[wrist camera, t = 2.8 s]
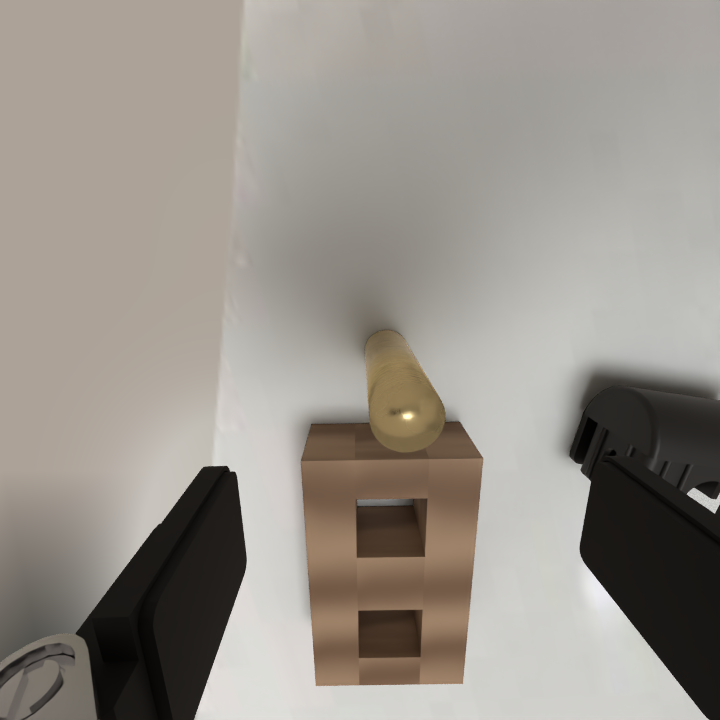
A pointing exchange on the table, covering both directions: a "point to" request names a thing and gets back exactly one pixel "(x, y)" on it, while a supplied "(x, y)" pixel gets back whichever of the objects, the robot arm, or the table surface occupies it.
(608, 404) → the end cap
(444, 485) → the hole block
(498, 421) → the table surface
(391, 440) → the brass peg
